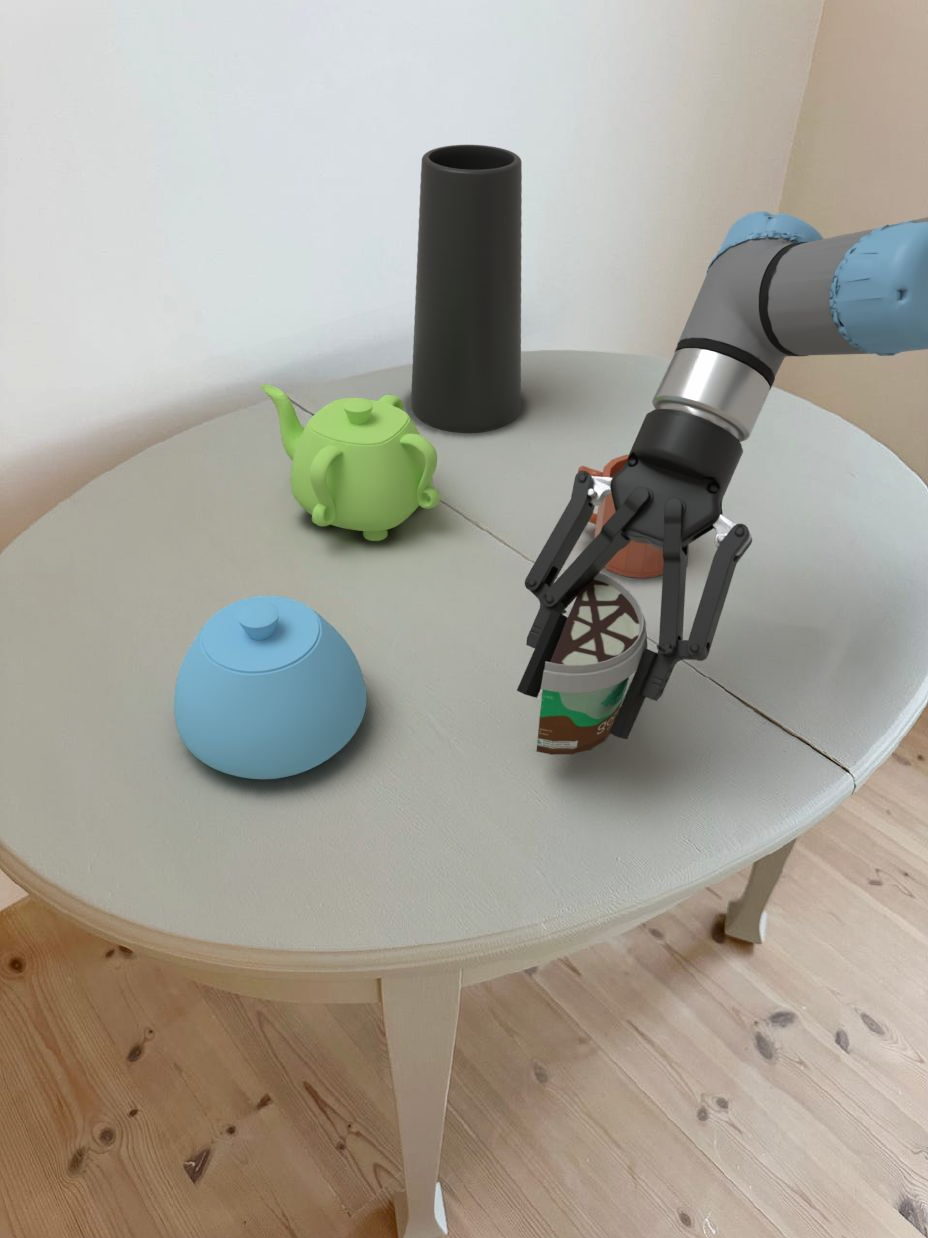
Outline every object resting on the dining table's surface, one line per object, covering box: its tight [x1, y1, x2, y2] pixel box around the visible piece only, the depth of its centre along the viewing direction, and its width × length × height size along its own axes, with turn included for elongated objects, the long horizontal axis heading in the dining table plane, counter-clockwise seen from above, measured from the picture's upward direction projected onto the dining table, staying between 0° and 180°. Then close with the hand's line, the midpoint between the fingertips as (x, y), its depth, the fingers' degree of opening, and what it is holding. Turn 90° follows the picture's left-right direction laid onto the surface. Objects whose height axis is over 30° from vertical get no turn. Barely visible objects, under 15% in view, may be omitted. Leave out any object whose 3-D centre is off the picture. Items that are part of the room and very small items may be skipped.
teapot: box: [260, 384, 441, 542], centre depth 97 cm, size 16×14×13 cm
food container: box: [535, 572, 648, 756], centre depth 71 cm, size 12×6×10 cm, turn 161°
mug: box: [577, 453, 664, 579], centre depth 94 cm, size 11×8×9 cm
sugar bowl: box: [173, 595, 367, 780], centre depth 74 cm, size 15×15×12 cm
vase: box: [410, 144, 523, 433], centre depth 110 cm, size 14×14×29 cm
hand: (571, 714), depth 70 cm, fingers closed on food container, 7 cm apart
